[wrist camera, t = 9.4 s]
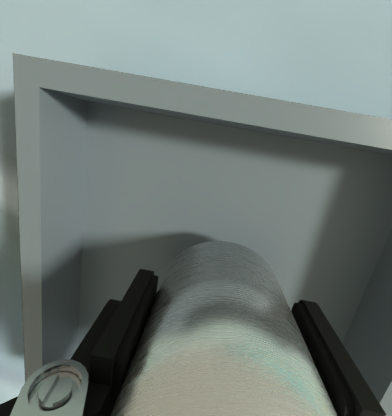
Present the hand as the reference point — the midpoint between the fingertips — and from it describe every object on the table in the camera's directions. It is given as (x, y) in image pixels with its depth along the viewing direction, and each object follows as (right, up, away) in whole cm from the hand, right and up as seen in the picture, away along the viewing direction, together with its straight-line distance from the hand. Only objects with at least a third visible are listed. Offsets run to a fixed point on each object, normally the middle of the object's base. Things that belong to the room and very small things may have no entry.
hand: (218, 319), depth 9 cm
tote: (0, +1, +4) cm, 4 cm away
